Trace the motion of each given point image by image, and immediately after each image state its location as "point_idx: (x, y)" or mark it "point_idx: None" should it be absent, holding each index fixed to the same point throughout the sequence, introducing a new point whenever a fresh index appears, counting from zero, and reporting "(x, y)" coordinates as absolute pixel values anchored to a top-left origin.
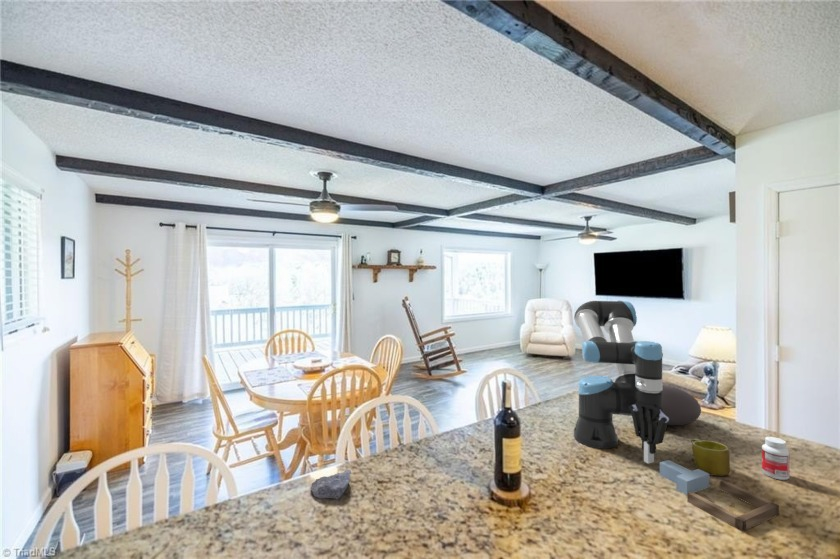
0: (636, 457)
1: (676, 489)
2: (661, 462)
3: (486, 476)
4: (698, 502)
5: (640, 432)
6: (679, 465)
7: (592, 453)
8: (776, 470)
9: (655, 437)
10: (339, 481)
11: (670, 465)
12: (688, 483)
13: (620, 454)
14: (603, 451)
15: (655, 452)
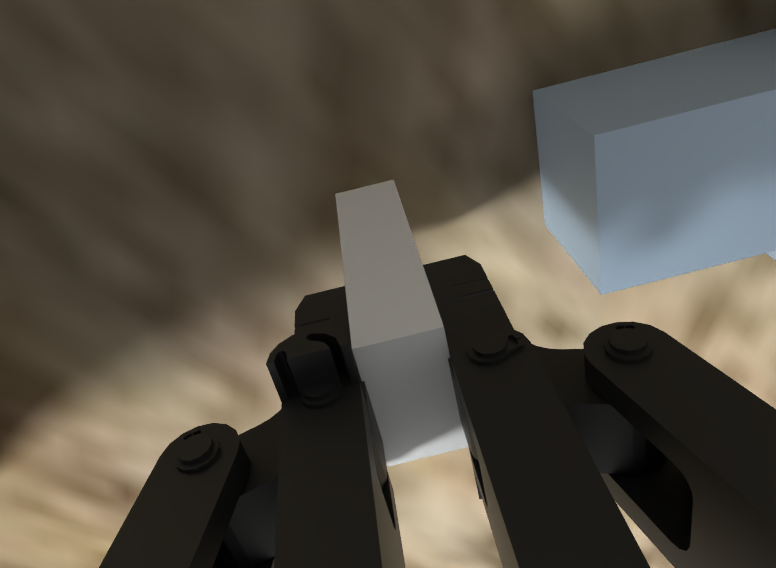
0: (156, 211)
1: (768, 252)
2: (608, 273)
3: None
4: None
5: (231, 538)
6: (761, 102)
7: (73, 545)
8: None
9: (684, 553)
10: None
11: (703, 220)
12: None
13: (81, 337)
14: (18, 453)
15: (476, 267)
